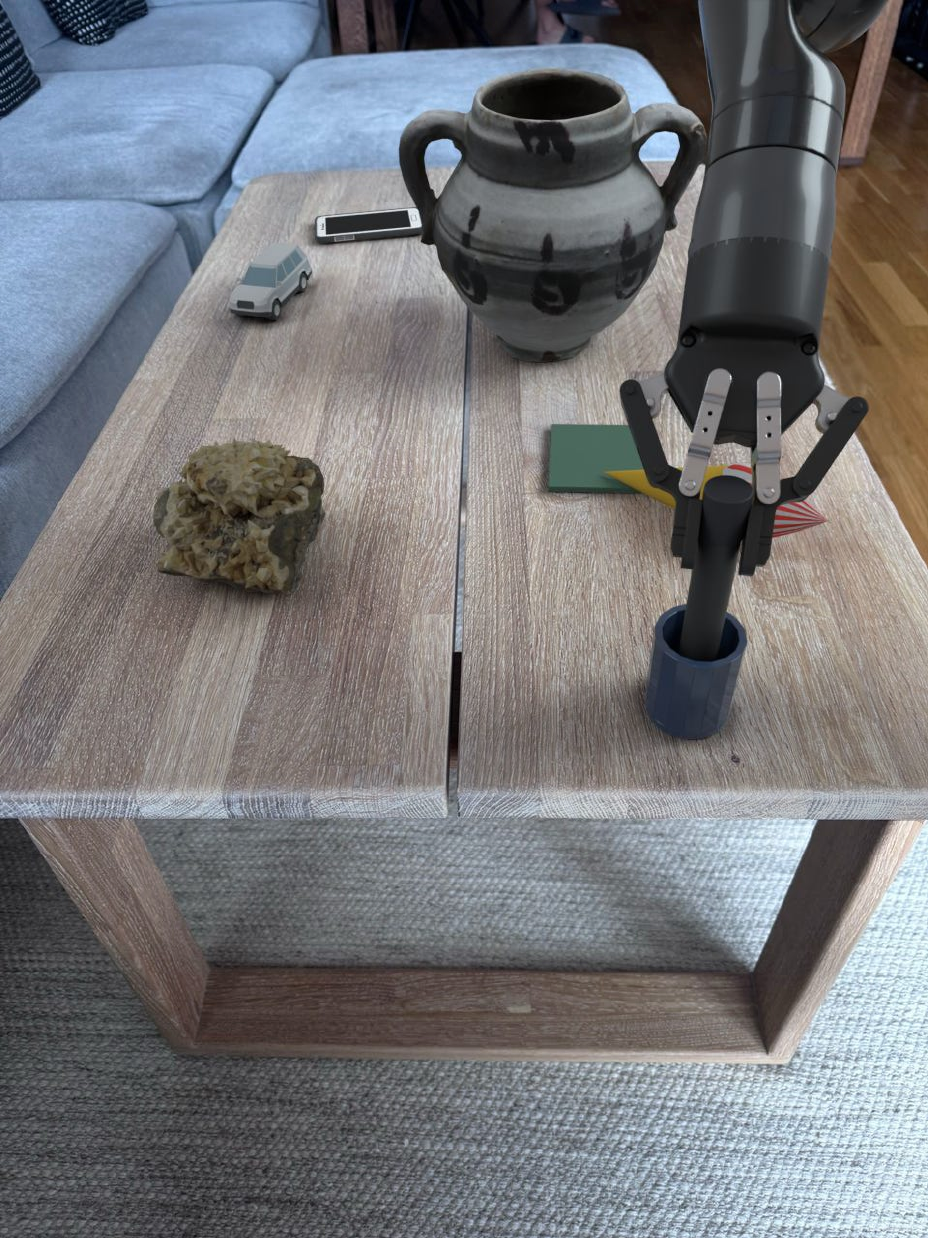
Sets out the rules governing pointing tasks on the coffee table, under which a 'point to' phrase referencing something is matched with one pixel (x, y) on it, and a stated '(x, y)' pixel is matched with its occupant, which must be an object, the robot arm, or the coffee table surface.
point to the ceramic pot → (549, 203)
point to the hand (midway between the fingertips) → (717, 569)
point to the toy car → (271, 281)
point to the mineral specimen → (241, 516)
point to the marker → (714, 565)
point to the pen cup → (692, 679)
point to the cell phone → (368, 225)
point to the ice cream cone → (786, 516)
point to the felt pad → (591, 458)
